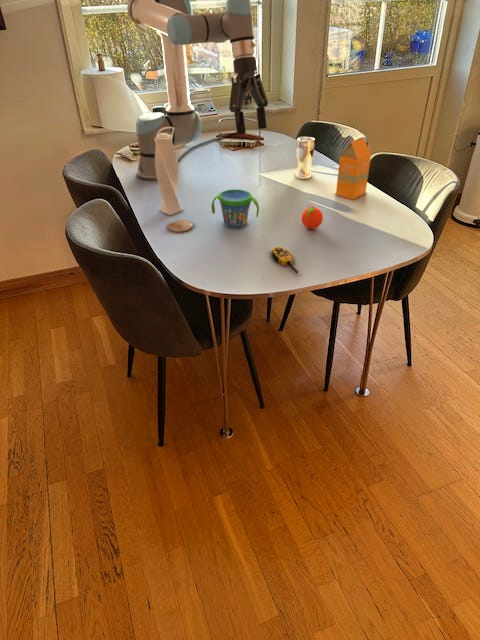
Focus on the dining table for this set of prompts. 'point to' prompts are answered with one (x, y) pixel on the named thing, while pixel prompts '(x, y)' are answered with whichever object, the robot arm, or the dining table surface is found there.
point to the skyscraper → (167, 172)
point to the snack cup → (235, 207)
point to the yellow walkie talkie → (283, 257)
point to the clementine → (312, 217)
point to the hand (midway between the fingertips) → (252, 131)
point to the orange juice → (353, 170)
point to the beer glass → (304, 156)
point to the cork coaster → (180, 226)
